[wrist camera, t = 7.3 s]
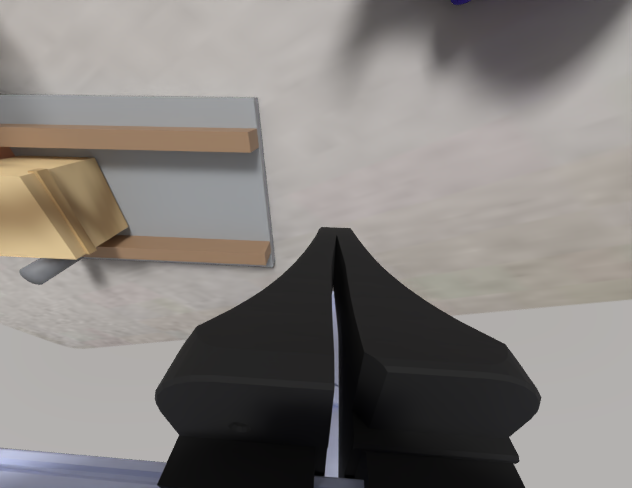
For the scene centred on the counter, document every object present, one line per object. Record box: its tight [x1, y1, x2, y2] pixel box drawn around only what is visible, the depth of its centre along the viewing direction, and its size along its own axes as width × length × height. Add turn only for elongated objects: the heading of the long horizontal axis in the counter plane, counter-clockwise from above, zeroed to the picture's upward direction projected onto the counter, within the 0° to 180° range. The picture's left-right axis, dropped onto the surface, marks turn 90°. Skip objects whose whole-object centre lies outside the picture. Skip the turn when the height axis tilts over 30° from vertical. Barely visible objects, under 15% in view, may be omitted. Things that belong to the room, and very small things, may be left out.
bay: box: [0, 94, 275, 285], centre depth 18 cm, size 14×21×5 cm, turn 89°
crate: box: [0, 156, 128, 260], centre depth 17 cm, size 6×6×5 cm
